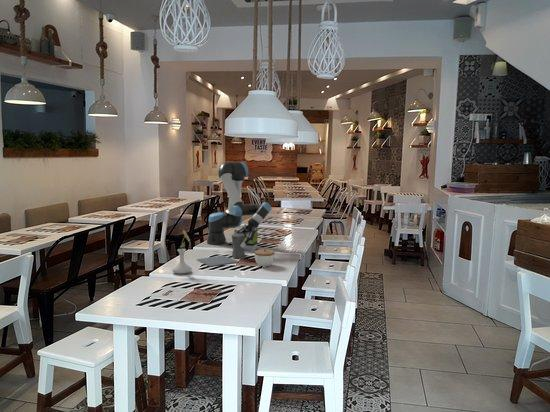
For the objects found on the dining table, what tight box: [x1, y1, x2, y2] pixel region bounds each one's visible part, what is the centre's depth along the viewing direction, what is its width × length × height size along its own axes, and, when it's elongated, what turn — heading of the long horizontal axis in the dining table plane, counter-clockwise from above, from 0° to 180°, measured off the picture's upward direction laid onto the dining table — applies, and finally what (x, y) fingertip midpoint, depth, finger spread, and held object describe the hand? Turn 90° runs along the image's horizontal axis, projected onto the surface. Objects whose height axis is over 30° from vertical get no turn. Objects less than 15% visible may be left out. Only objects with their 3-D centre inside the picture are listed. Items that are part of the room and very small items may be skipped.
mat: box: [196, 254, 239, 268], centre depth 283 cm, size 20×20×1 cm
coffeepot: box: [231, 231, 246, 259], centre depth 296 cm, size 15×9×18 cm, turn 151°
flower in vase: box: [171, 229, 193, 275], centre depth 255 cm, size 13×11×25 cm
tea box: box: [233, 227, 258, 251], centre depth 319 cm, size 15×10×15 cm, turn 73°
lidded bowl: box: [254, 248, 275, 267], centre depth 272 cm, size 13×13×11 cm
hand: (236, 245), depth 294 cm, fingers open, 13 cm apart
